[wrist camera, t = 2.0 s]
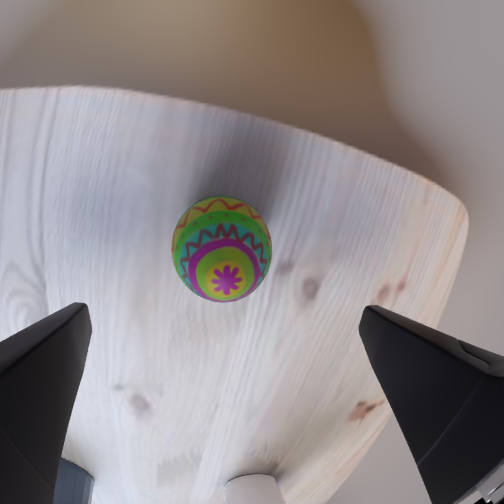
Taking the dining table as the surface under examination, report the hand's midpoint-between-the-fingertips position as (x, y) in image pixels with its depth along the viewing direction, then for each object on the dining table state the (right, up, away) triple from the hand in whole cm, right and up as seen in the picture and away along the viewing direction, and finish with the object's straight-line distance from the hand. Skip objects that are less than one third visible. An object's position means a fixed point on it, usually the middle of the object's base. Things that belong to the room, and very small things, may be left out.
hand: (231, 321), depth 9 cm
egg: (-1, +3, +8) cm, 9 cm away
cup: (-24, -27, +16) cm, 39 cm away
